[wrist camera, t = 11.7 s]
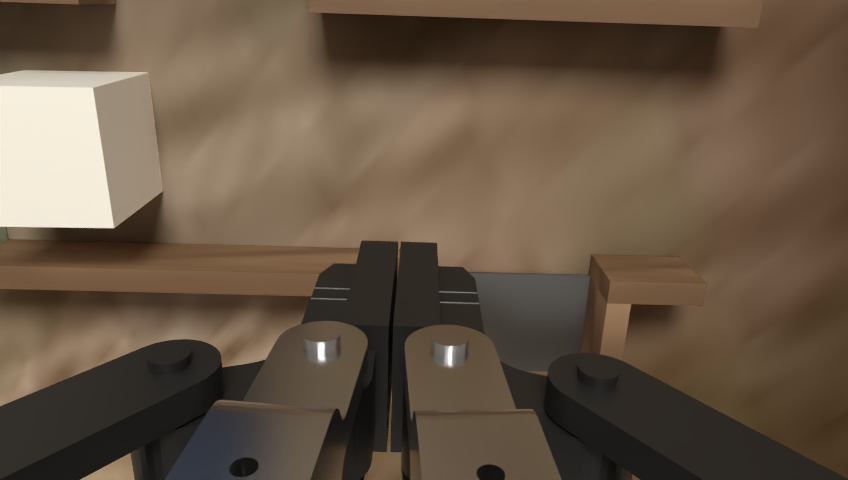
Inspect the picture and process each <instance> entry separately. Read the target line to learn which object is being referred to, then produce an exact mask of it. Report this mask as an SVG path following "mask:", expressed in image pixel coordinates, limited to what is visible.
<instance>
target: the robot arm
mask: <svg viewBox="0 0 848 480" xmlns="http://www.w3.org/2000/svg"><path fill="white" fill-rule="evenodd" d="M391 392H392V408H391V452H402V456H401V480H631V479H632V474H633V475H635V476H636V477H638V478H639V479H641V480H848V479H846V478H845V477H843V476H841V475H839V474H837V473H835V472H833V471H831V470H829V469H827V468H825V467H824V466H822V465H820V464H818V463H816V462H814V461H812V460H810V459H808V458H806V457H805V456H803V455H801V454H799V453H797V452H795V451H793V450H791V449H789V448H787V447H785V446H784V445H782V444H780V443H778V442H776V441H774V440H772V439H770V438H768V437H766V436H765V435H763V434H761V433H759V432H757V431H755V430H753V429H751V428H749V427H747V426H745V425H744V424H742V423H740V422H738V421H736V420H734V419H732V418H730V417H728V416H726V415H725V414H723V413H721V412H719V411H717V410H715V409H713V408H711V407H709V406H707V405H705V404H704V403H702V402H700V401H698V400H696V399H694V398H692V397H690V396H688V395H686V394H685V393H683V392H681V391H679V390H677V389H675V388H673V387H671V386H669V385H667V384H665V383H664V382H662V381H660V380H658V379H656V378H654V377H652V376H650V375H648V374H646V373H645V372H643V371H641V370H639V369H637V368H635V367H633V366H631V365H629V364H627V363H625V362H623V361H621V360H619V359H616V358H613V357H610V356H606V355H601V354H595V353H572V354H568V355H564V356H561V357H559V358H557V359H555V360H554V361H553V362H552V363H551V364H550V366H549V368H548V374H547V376H544V375H540V374H535V373H530V372H526V371H523V370H519V369H516V368H514V367H511V366H509V365H507V364H505V363H503V362H502V361H500V360H499V357H498V354H497V351H496V348H495V346H494V344H493V342H492V341H491V340H490V338H488V337H487V336H486V335H485V333H484V327H483V322H482V316H481V310H480V304H479V298H478V294H477V287H476V281H475V278H474V277H473V276H472V275H471V274H470V273H468V272H467V271H466V270H465V269H464V268H463V267H440V266H438V256H437V243H424V242H401V247H400V258H399V268H398V242H390V241H362V242H361V246H360V250H359V254H358V258H357V262H356V264H343V263H334V264H332V265H331V266H330V267H328V268H327V269H326V270H324V271H323V272H321V273H320V274H319V277H318V280H317V282H316V285H315V289H314V290H313V293H312V296H311V299H310V301H309V304H308V307H307V309H306V312H305V315H304V318H303V320H302V323H301V325H298V326H295V327H293V328H290V329H289V330H287V331H285V332H284V333H283V334H282V335H281V336H280V337H279V338H278V339H277V341H276V343H275V345H274V346H273V348H272V350H271V352H270V353H269V355H268V357H267V359H266V360H263V361H259V362H255V363H250V364H243V365H237V366H230V367H224V368H222V362H221V355H220V352H219V351H218V350H217V348H215V347H214V346H212V345H210V344H208V343H205V342H202V341H197V340H186V339H183V340H169V341H164V342H159V343H155V344H152V345H149V346H146V347H143V348H141V349H138V350H136V351H134V352H131V353H129V354H126V355H124V356H121V357H119V358H117V359H114V360H112V361H109V362H107V363H104V364H102V365H100V366H97V367H95V368H92V369H90V370H87V371H85V372H83V373H80V374H78V375H75V376H73V377H71V378H68V379H66V380H63V381H61V382H58V383H56V384H54V385H51V386H49V387H46V388H44V389H41V390H39V391H37V392H34V393H32V394H29V395H27V396H24V397H22V398H20V399H17V400H15V401H12V402H10V403H8V404H5V405H3V406H0V480H80V479H82V478H84V477H86V476H87V475H89V474H91V473H93V472H95V471H97V470H99V469H101V468H103V467H104V466H106V465H108V464H110V463H112V462H114V461H116V460H118V459H119V458H121V457H123V456H125V455H127V454H129V453H131V459H132V465H133V471H134V478H135V480H367V472H368V470H369V468H370V466H371V461H372V453H373V451H374V452H387V440H388V428H389V416H390V404H391Z"/></svg>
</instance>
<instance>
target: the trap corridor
mask: <svg viewBox="0 0 848 480" xmlns="http://www.w3.org/2000/svg"><path fill="white" fill-rule="evenodd" d="M0 2H23V3H52V4H116V1H115V0H0ZM762 5H763V0H309V12H314V13H343V14H372V15H401V16H430V17H459V18H488V19H517V20H546V21H575V22H604V23H633V24H662V25H691V26H720V27H749V28H758V25H759V20H760V15H761V10H762ZM359 250H360V249H359V248H320V247H282V246H244V245H205V244H167V243H128V242H90V241H52V240H13V239H8V237H7V232H6V227H0V289H30V290H71V291H113V292H154V293H195V294H236V295H277V296H312V293H313V290H314V289H315V285H316V282H317V280H318V277H319V274H320V273H321V272H323V271H324V270H326V269H327V268H328V267H330V266H331V265H332V264H334V263H343V264H356V262H357V258H358V254H359ZM399 258H400V250H398V268H399ZM468 273H470V274H471V275H472V276H473V277H474V278H475V281H476V287H477V294H478V298H479V304H480V310H481V316H482V322H483V327H484V333H485V335H486V336H487V337H488V338H490V340H491V341H492V342H493V344H494V346H495V348H496V351H497V354H498V357H499V360H500V361H502V362H503V363H505V364H507V365H509V366H511V367H514V368H516V369H519V370H523V371H526V372H530V373H535V374H540V375H544V376H547V374H548V368H549V366H550V364H551V363H552V362H553V361H554V360H555V359H557V358H559V357H561V356H564V355H568V354H572V353H595V354H601V355H606V356H610V357H613V358H616V359H619V360H621V361H622V359H623V353H624V346H625V340H626V334H627V327H628V321H629V315H630V308H631V304H648V305H689V306H703V302H704V297H705V292H706V287H707V283H706V282H705V281H704V280H703V279H702V278H701V277H700V276H699V275H698V274H697V273H696V272H694V271H693V270H692V269H691V268H690V267H689V266H688V265H687V264H686V263H685V262H684V261H683V260H682V259H681V258H680V257H666V256H628V255H592V256H591V264H590V272H589V275H572V274H533V273H493V272H468ZM391 408H392V392H391V404H390V416H389V421H391Z"/></svg>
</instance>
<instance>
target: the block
mask: <svg viewBox="0 0 848 480" xmlns="http://www.w3.org/2000/svg"><path fill="white" fill-rule="evenodd" d="M162 191H163V187H162V179H161V170H160V162H159V154H158V145H157V137H156V129H155V121H154V112H153V104H152V96H151V88H150V79H149V73H146V72H96V71H45V70H22V71H17V72H11V73H5V74H0V227H61V228H115V227H116V226H118V225H119V224H120V223H122V222H123V221H124V220H126V219H127V218H128V217H130V216H131V215H132V214H134V213H135V212H136V211H138V210H139V209H140V208H141V207H143V206H144V205H145V204H147V203H148V202H149V201H151V200H152V199H153V198H155V197H156V196H157V195H159V194H160V193H161V192H162Z"/></svg>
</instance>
